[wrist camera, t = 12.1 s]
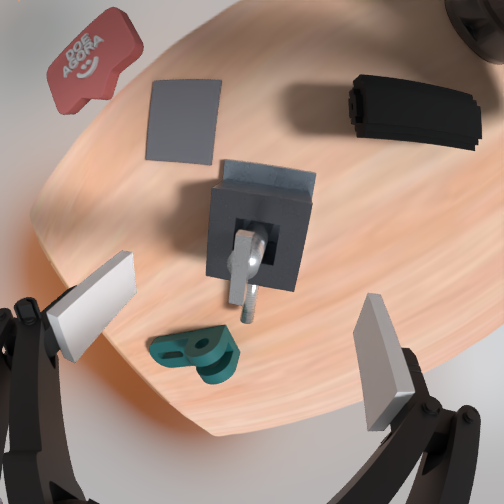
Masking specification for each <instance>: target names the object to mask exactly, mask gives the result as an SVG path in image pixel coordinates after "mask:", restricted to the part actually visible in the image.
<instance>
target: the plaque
mask: <svg viewBox="0 0 504 504" xmlns="http://www.w3.org/2000/svg"><path fill="white" fill-rule="evenodd" d="M143 48H144V46H143V42H142V40H141V39H140V37H139V35H138V33H137V31H136V29H135V28H134V26H133V24H132V22H131V20H130V19H129V17H128V15H127V14H126V13H125V12H123V11H122V10H120V9H118V8H115V7H111V8H109V9H107V10H105V11H104V12H103V13H102V14H101V15H99V16H98V17H97V18H96V19H95V20H94V21H93V22H92V23H90V24H89V26H87V27H86V28H85V29H84V30H83V31H82V32H81V33H80V34H79V35H78V36H77V37H76V38H75V39H74V40H73V41H72V42H71V43H70V44H69V45H68V46H67V47H66V48H65V49H64V50H63V52H62V53H61V54H60V55H59V56H58V57H57V58H56V59H55V60H54V62H53V63H52V64H51V65H50V67H49V68H48V71H47V81H48V84H49V87H50V90H51V93H52V95H53V98H54V101H55V104H56V107H57V109H58V111H59V113H61V114H63V115H65V114H76V113H78V112H79V111H80V110H81V109H82V108H83V107H84V106H85V105H86V104H87V103H88V102H89V101H90V100H91V99H102V100H110V99H111V98H112V97H113V94H114V90H115V87H116V84H117V80H118V77H119V74H120V73H121V72H122V71H123V70H125V69H126V68H127V67H128V66H129V65H131V64H132V63H133V62H134V61H136V60H137V59H138V58H139V57H140V56H141V55H142V52H143Z"/></svg>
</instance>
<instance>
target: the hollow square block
mask: <svg viewBox="0 0 504 504" xmlns="http://www.w3.org/2000/svg"><path fill="white" fill-rule="evenodd" d="M315 178H316V173H315V172H309V171H304V170H298V169H292V168H286V167H280V166H274V165H267V164H260V163H253V162H246V161H238V160H230V159H226V160H225V164H224V174H223V181H222V182H220V183H219V184H217V185H216V186H214V187H212V193H211V205H210V217H209V231H208V245H207V261H206V276H210V277H215V278H220V279H225V280H230V281H231V273H230V272H229V270H228V267H227V261H228V258H229V256H230V255H231V253H232V251H233V250H234V245H235V236H236V233H237V232H238V230H246V228H247V227H248V225H249V224H250V222H251V220H253V221H259V222H265V223H271V224H273V228H272V231H271V234H270V237H269V240H268V243H267V246H266V248H265V251H264V254H263V257H262V260H261V263H260V266H259V269H258V272H257V274H256V275H255V276H254V277H253V278H251V279H248V285H247V292H246V299H245V301H244V304H243V306H242V309H241V317H240V320H241V322H243V323H245V324H250V323H252V322H253V320H254V313H255V307H256V301H257V295H258V289H259V286H263V287H269V288H274V289H280V290H286V291H292V292H294V289H295V285H296V281H297V276H298V272H299V267H300V263H301V258H302V254H303V249H304V244H305V239H306V235H307V230H308V225H309V220H310V215H311V209H312V204H313V203H312V195H313V190H314V184H315Z"/></svg>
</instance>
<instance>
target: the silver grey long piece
mask: <svg viewBox="0 0 504 504" xmlns="http://www.w3.org/2000/svg"><path fill="white" fill-rule="evenodd" d="M272 228H273V224H271V223H265V222H259V221H253V220H251V222H250V224H249V225H248V227H247V228H246V230H238V232H237V233H236V236H235V245H234V250H233V251H232V253H231V255H230V256H229V258H228V261H227V267H228V270H229V272H230V273H231V284H230V294H229V303H232V304H237V305H241V306H243V304H244V301H245V299H246V292H247V285H248V279H251V278H253V277H254V276H255V275H256V274H257V272H258V269H259V266H260V263H261V260H262V257H263V254H264V251H265V248H266V246H267V243H268V240H269V237H270V234H271V231H272Z"/></svg>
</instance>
